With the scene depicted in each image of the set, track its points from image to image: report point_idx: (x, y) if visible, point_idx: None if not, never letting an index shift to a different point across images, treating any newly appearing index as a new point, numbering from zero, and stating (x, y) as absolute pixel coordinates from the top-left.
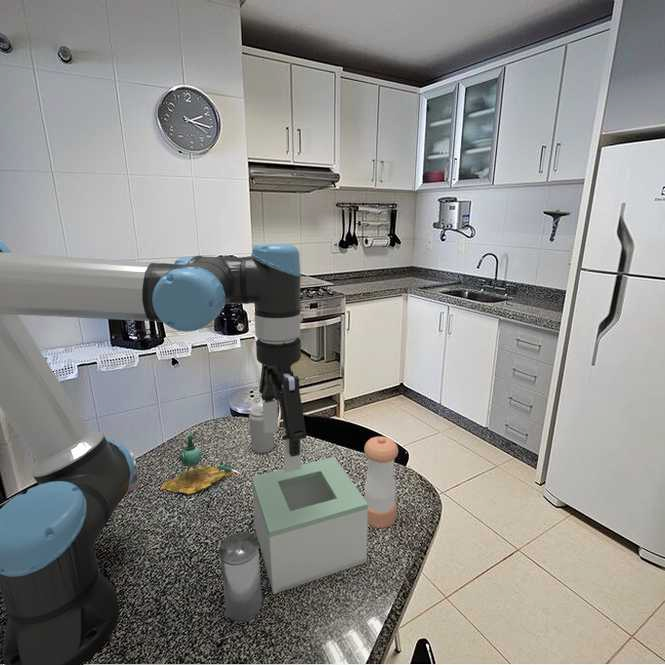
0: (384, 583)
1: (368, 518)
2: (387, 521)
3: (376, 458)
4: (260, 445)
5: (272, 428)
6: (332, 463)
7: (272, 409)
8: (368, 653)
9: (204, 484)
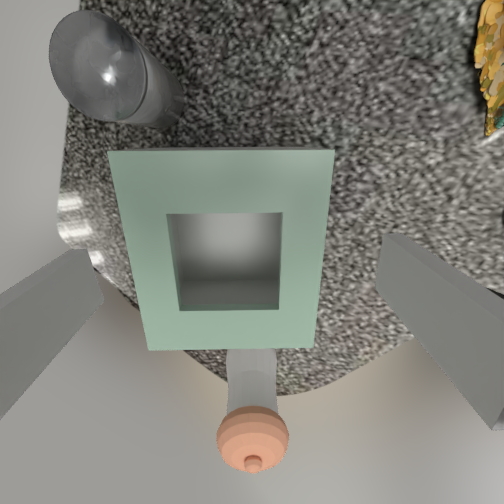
0: None
1: None
2: None
3: (225, 422)
4: None
5: (386, 275)
6: (292, 337)
7: (454, 349)
8: (61, 237)
9: (487, 51)
